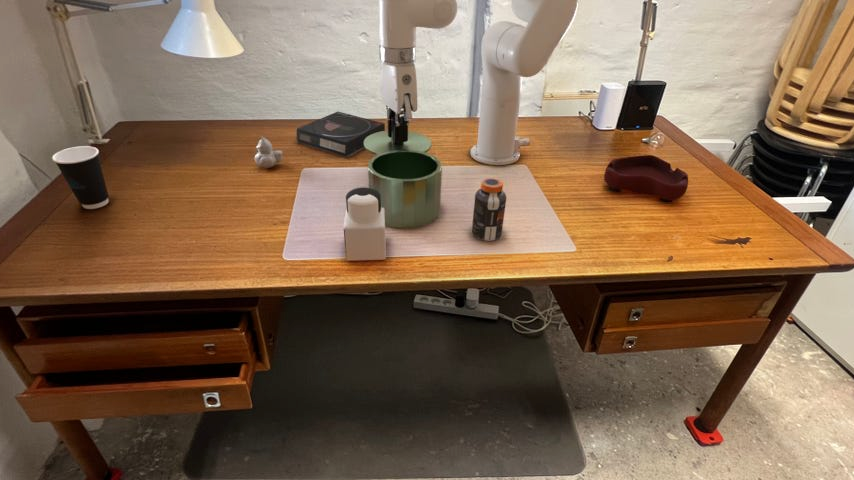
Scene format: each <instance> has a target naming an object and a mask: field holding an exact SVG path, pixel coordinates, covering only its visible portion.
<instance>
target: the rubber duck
mask: <svg viewBox="0 0 854 480" xmlns="http://www.w3.org/2000/svg"><path fill="white" fill-rule="evenodd" d="M255 148H256V149H257V151H258V152H257V153H256V154H255V156H254V161H255V163H256V164H257V165H258V166H259V167H260V168H262V169H270V168H273V167H274V166H275V165H276V164H277V163H282V162H283V154H284V153H283V151H282V150H273V149H274V146H273V145H272V143H271V141H270V140H268V139H267V138H266V137H265V136H264V137H263V135H260V140H259V141H258V144H257V145H256V146H255Z"/></svg>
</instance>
